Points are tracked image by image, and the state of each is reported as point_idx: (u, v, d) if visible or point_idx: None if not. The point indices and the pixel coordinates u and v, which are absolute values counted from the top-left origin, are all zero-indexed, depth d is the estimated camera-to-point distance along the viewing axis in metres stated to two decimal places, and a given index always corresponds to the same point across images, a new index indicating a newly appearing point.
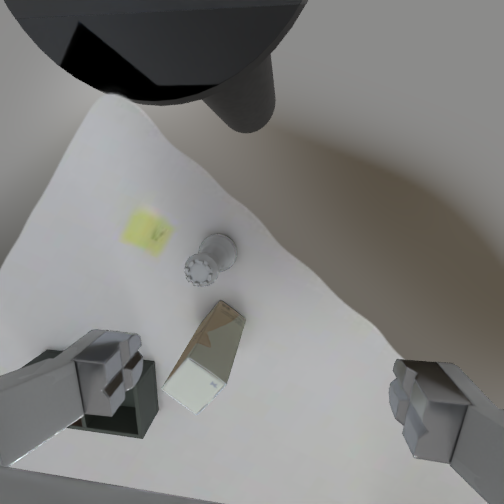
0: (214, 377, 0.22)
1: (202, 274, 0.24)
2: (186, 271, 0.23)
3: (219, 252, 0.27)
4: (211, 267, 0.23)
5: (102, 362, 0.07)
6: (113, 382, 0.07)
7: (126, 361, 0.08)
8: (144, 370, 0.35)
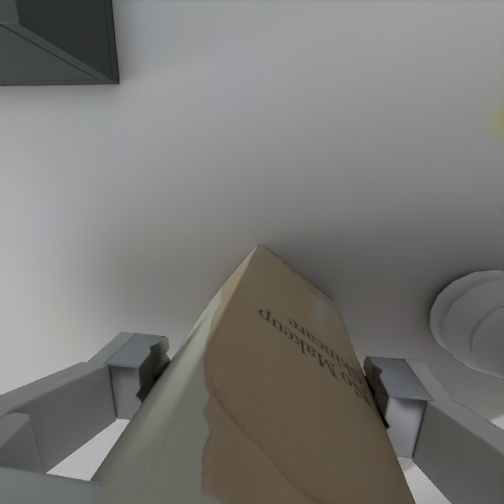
0: None
1: None
2: None
3: None
4: None
5: (137, 366, 0.07)
6: (145, 386, 0.07)
7: (156, 364, 0.08)
8: (88, 54, 0.09)
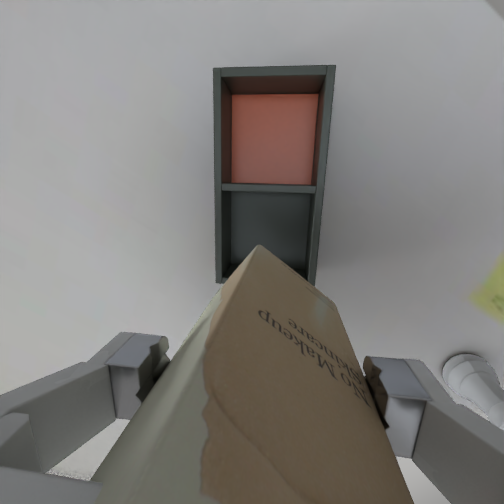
0: None
1: None
2: None
3: None
4: None
5: (137, 366, 0.07)
6: (145, 386, 0.07)
7: (156, 364, 0.08)
8: None
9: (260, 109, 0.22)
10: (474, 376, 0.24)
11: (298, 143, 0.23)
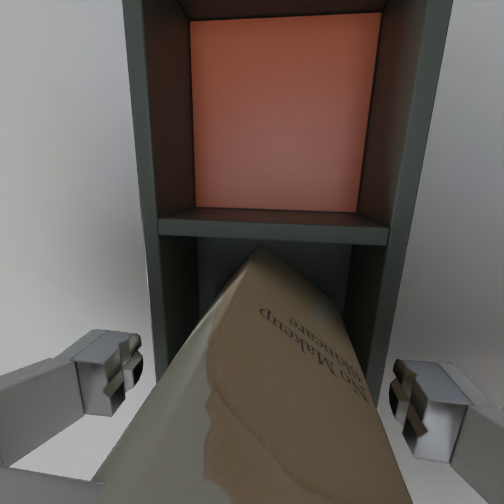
0: None
1: None
2: None
3: None
4: None
5: (103, 362, 0.07)
6: (113, 382, 0.07)
7: (126, 361, 0.08)
8: None
9: (251, 53, 0.10)
10: None
11: (332, 126, 0.11)
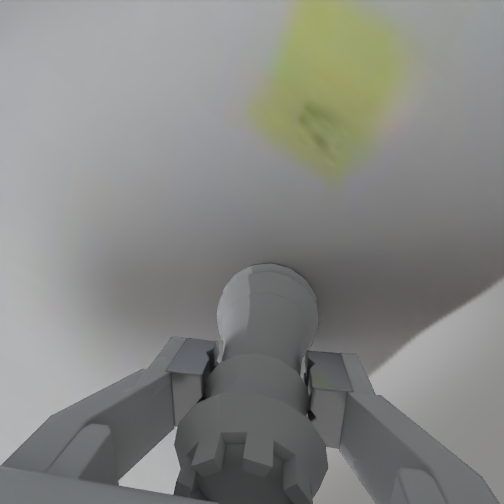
0: None
1: None
2: (251, 467, 0.04)
3: None
4: None
5: (200, 373, 0.07)
6: None
7: (210, 370, 0.08)
8: None
9: None
10: (243, 303, 0.09)
11: None
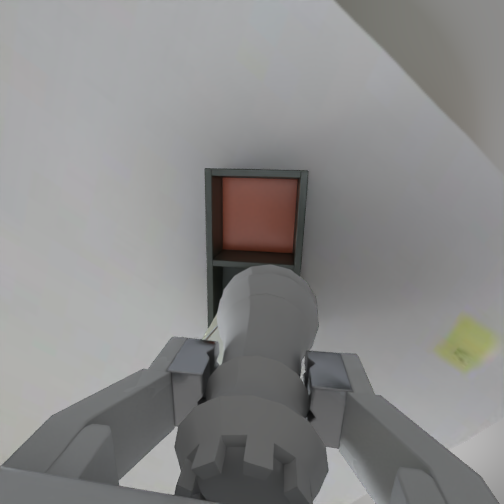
0: None
1: None
2: (251, 470, 0.04)
3: None
4: None
5: (200, 373, 0.07)
6: (203, 393, 0.07)
7: (210, 370, 0.08)
8: None
9: (247, 190, 0.26)
10: (243, 304, 0.09)
11: (280, 219, 0.26)
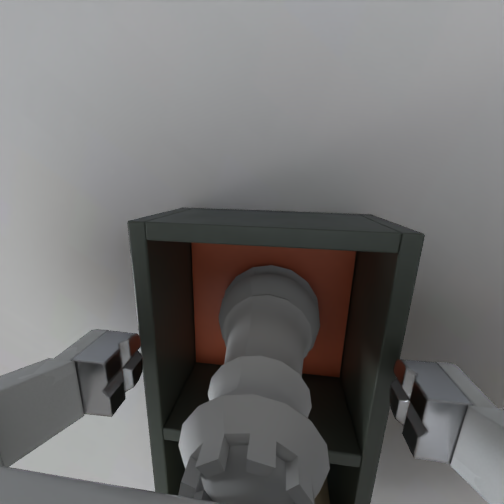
0: None
1: None
2: (254, 468, 0.04)
3: None
4: None
5: (103, 362, 0.07)
6: (113, 382, 0.07)
7: (126, 361, 0.08)
8: None
9: (245, 251, 0.12)
10: (245, 304, 0.10)
11: None
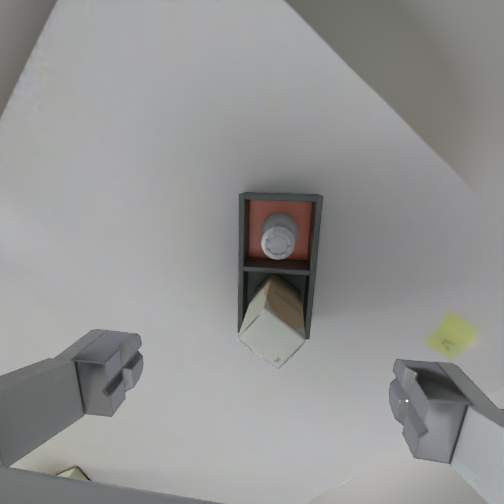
0: (284, 361, 0.24)
1: (276, 248, 0.24)
2: (279, 234, 0.24)
3: None
4: (282, 256, 0.25)
5: (102, 362, 0.07)
6: (113, 382, 0.07)
7: (126, 361, 0.08)
8: None
9: (270, 208, 0.31)
10: (272, 222, 0.29)
11: None
